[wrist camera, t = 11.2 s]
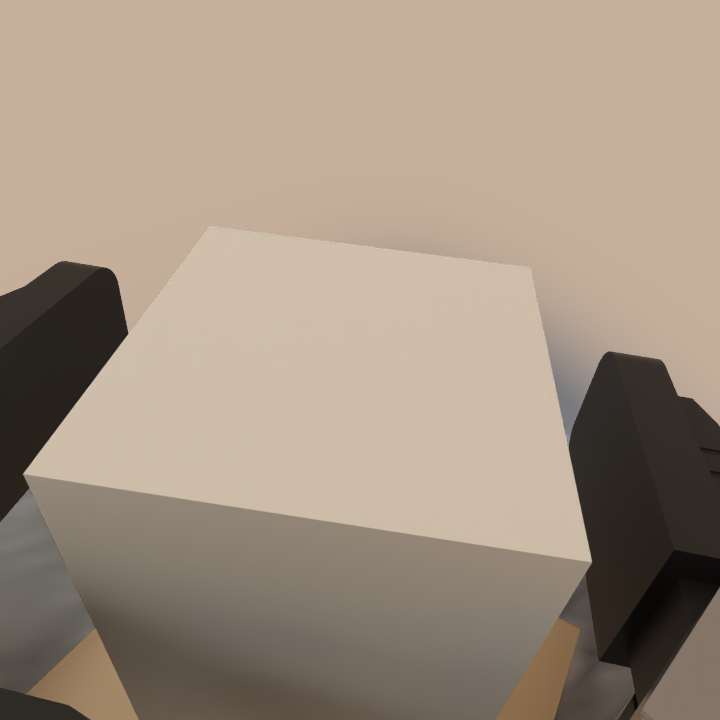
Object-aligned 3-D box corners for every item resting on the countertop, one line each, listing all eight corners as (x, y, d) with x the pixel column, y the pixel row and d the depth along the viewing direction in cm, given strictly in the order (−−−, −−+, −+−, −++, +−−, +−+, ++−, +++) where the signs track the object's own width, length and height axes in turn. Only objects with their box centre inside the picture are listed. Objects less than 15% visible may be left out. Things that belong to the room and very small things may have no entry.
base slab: (-6, 818, 13) (-53, 768, 11) (270, 520, 20) (269, 460, 18) (373, 1234, 9) (395, 1259, 7) (548, 684, 16) (581, 629, 14)
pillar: (180, 809, 11) (23, 473, 5) (246, 589, 14) (209, 226, 8) (414, 852, 11) (592, 562, 4) (423, 618, 14) (530, 267, 8)
